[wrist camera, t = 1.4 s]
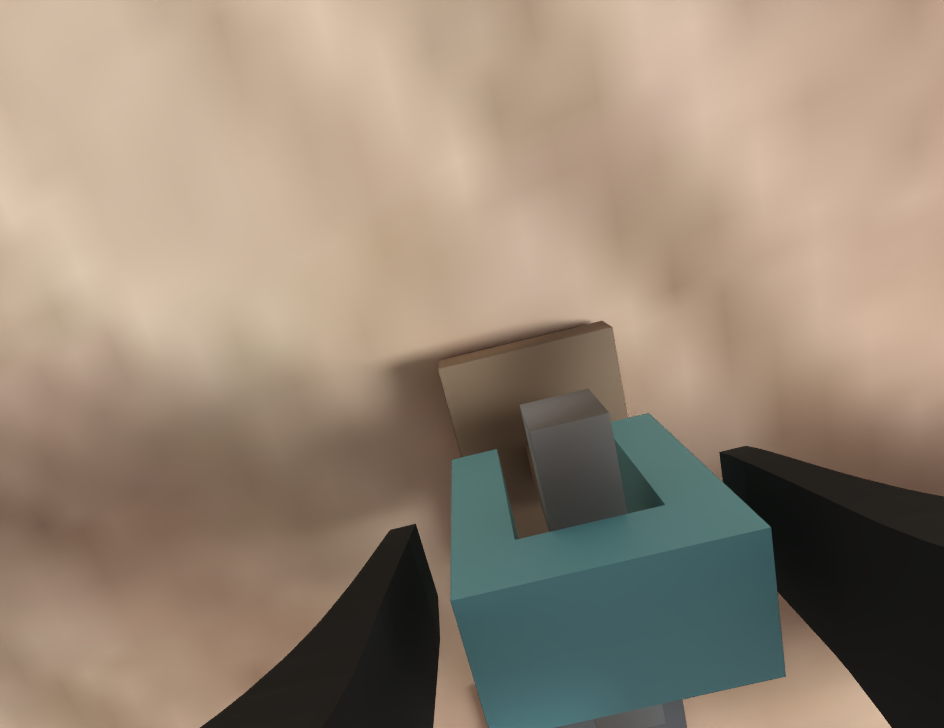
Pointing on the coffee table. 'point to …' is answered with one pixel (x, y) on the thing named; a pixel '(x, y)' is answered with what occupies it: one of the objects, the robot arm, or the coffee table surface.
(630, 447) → the teal notched block
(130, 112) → the coffee table surface
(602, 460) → the stand
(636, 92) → the coffee table surface
